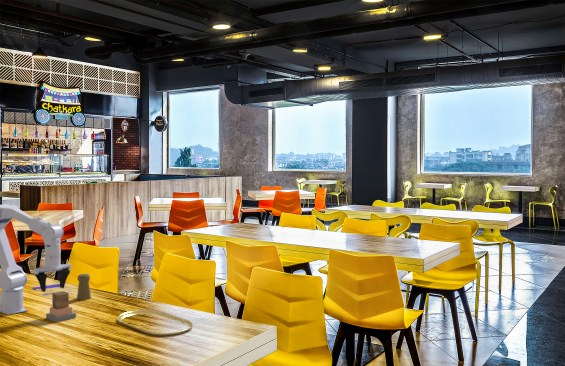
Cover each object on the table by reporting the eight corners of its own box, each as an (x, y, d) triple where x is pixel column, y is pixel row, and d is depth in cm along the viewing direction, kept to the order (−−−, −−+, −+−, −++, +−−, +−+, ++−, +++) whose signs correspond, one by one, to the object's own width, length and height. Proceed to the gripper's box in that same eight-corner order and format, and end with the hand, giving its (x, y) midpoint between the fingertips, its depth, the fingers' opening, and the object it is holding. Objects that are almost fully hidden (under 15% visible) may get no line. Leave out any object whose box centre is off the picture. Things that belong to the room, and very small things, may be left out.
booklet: (48, 299, 240) (48, 297, 240) (32, 288, 259) (32, 287, 259) (76, 295, 248) (76, 293, 248) (59, 285, 267) (59, 284, 267)
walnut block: (52, 307, 210) (52, 293, 210) (63, 304, 214) (63, 291, 213) (57, 309, 207) (57, 295, 207) (68, 307, 210) (68, 293, 210)
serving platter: (149, 311, 223) (149, 307, 223) (203, 329, 200) (203, 325, 200) (107, 320, 209) (107, 316, 209) (160, 341, 186) (160, 336, 186)
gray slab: (46, 320, 210) (46, 313, 210) (65, 315, 216) (65, 309, 216) (56, 324, 205) (56, 317, 205) (76, 319, 211) (76, 313, 211)
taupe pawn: (86, 300, 237) (86, 275, 237) (73, 299, 238) (73, 275, 238) (93, 297, 243) (93, 273, 243) (81, 296, 244) (81, 272, 244)
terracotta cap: (49, 313, 210) (49, 307, 210) (64, 310, 215) (64, 304, 214) (57, 316, 206) (57, 310, 206) (72, 313, 211) (72, 307, 211)
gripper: (39, 259, 205) (39, 294, 206) (75, 254, 216) (75, 287, 217) (30, 256, 210) (31, 291, 210) (66, 252, 221) (66, 285, 221)
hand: (52, 289), depth 214 cm, fingers open, 7 cm apart
